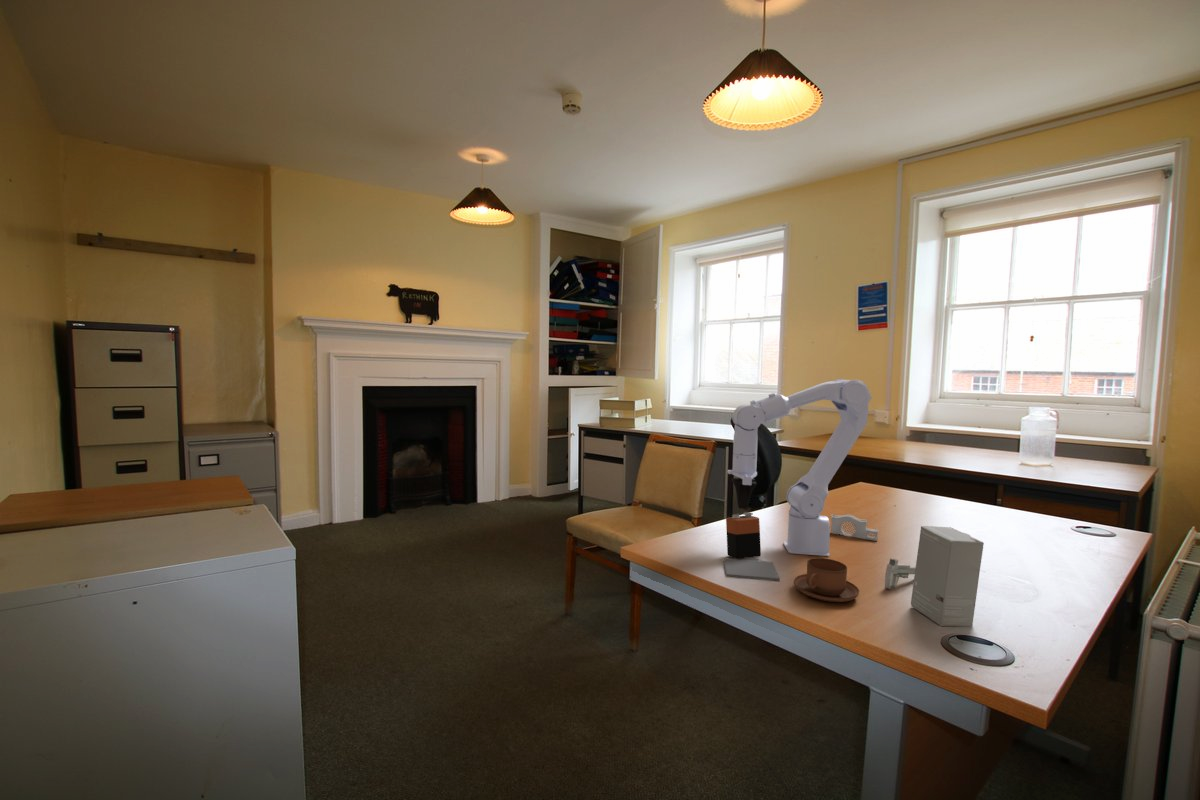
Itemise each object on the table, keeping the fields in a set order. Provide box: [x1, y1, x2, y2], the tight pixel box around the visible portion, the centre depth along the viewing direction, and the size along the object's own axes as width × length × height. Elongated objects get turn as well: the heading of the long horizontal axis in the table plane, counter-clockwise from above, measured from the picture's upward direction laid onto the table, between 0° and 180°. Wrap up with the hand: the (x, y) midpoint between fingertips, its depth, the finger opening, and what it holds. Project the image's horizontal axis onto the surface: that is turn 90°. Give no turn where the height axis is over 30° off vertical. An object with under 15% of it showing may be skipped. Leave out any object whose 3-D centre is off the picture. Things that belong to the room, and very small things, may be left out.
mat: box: [723, 557, 781, 582], centre depth 120 cm, size 11×10×1 cm
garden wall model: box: [830, 513, 880, 542], centre depth 146 cm, size 12×2×6 cm, turn 56°
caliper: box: [884, 558, 916, 590], centre depth 116 cm, size 21×1×6 cm, turn 122°
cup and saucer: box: [793, 557, 860, 603], centre depth 108 cm, size 12×12×6 cm
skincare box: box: [910, 525, 985, 627], centre depth 98 cm, size 8×7×16 cm
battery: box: [725, 512, 762, 560], centre depth 128 cm, size 4×7×10 cm, turn 110°
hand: (742, 508), depth 134 cm, fingers closed
